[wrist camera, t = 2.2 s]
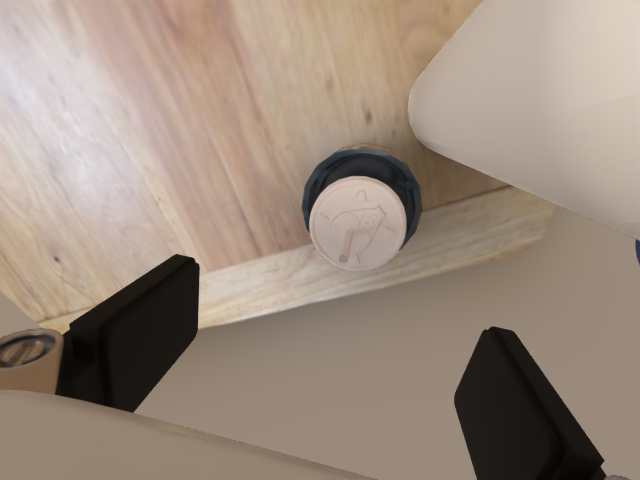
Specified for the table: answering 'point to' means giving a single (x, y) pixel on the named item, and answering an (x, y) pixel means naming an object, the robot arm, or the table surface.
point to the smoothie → (358, 223)
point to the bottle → (542, 102)
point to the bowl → (371, 165)
